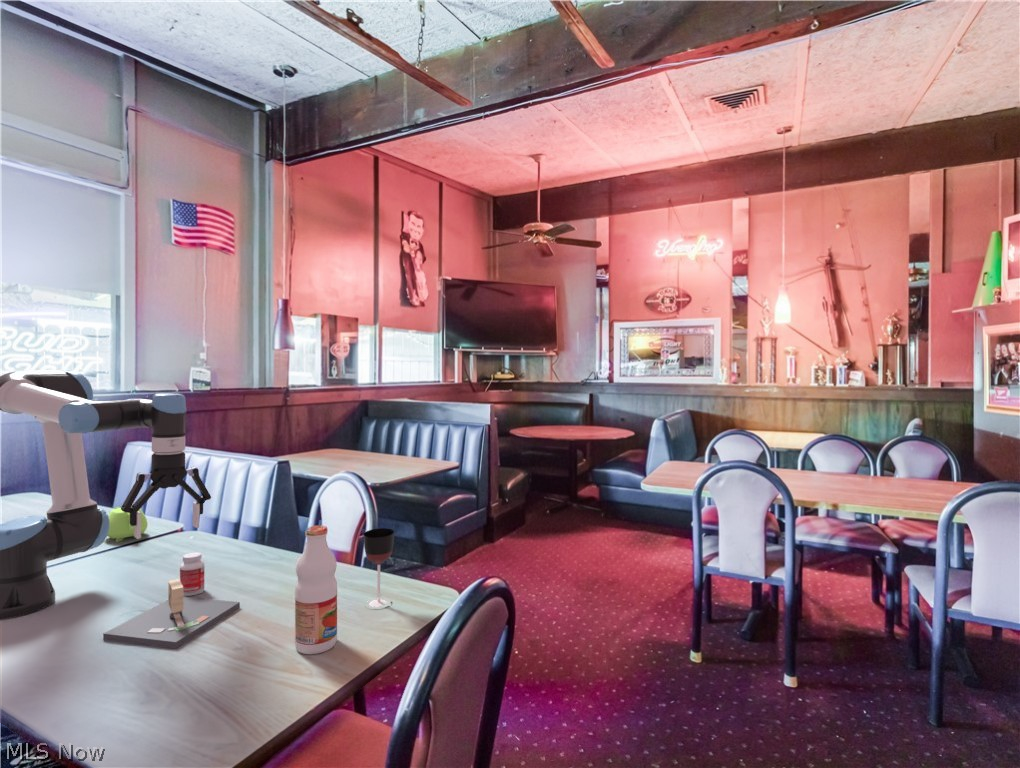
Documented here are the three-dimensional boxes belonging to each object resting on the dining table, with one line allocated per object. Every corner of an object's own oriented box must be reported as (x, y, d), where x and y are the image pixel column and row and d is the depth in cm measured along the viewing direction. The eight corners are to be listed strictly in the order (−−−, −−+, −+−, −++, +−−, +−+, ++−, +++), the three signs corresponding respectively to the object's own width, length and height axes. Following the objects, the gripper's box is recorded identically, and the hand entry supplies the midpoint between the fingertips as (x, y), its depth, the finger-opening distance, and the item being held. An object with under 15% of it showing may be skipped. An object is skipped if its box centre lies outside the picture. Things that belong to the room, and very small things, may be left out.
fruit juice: (298, 637, 131) (298, 523, 130) (338, 633, 133) (339, 521, 132) (291, 657, 122) (291, 535, 121) (335, 653, 124) (335, 532, 123)
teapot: (97, 536, 207) (96, 503, 207) (137, 528, 217) (137, 497, 217) (113, 547, 194) (112, 512, 194) (155, 538, 205) (155, 505, 204)
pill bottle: (205, 593, 155) (205, 556, 155) (180, 598, 152) (180, 560, 152) (203, 586, 160) (203, 549, 160) (179, 591, 157) (179, 553, 157)
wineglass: (399, 600, 152) (400, 530, 152) (380, 612, 144) (380, 539, 144) (377, 595, 156) (377, 526, 155) (356, 607, 148) (357, 535, 147)
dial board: (103, 639, 129) (103, 632, 129) (176, 601, 150) (176, 595, 150) (175, 648, 125) (175, 641, 125) (239, 607, 147) (239, 601, 147)
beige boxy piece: (167, 612, 139) (167, 581, 139) (180, 609, 141) (180, 578, 141) (174, 630, 130) (174, 597, 130) (188, 627, 132) (188, 594, 131)
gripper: (115, 459, 129) (114, 546, 130) (224, 449, 148) (223, 525, 149) (107, 455, 134) (106, 538, 135) (214, 446, 153) (212, 519, 154)
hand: (167, 532), depth 142 cm, fingers open, 13 cm apart
